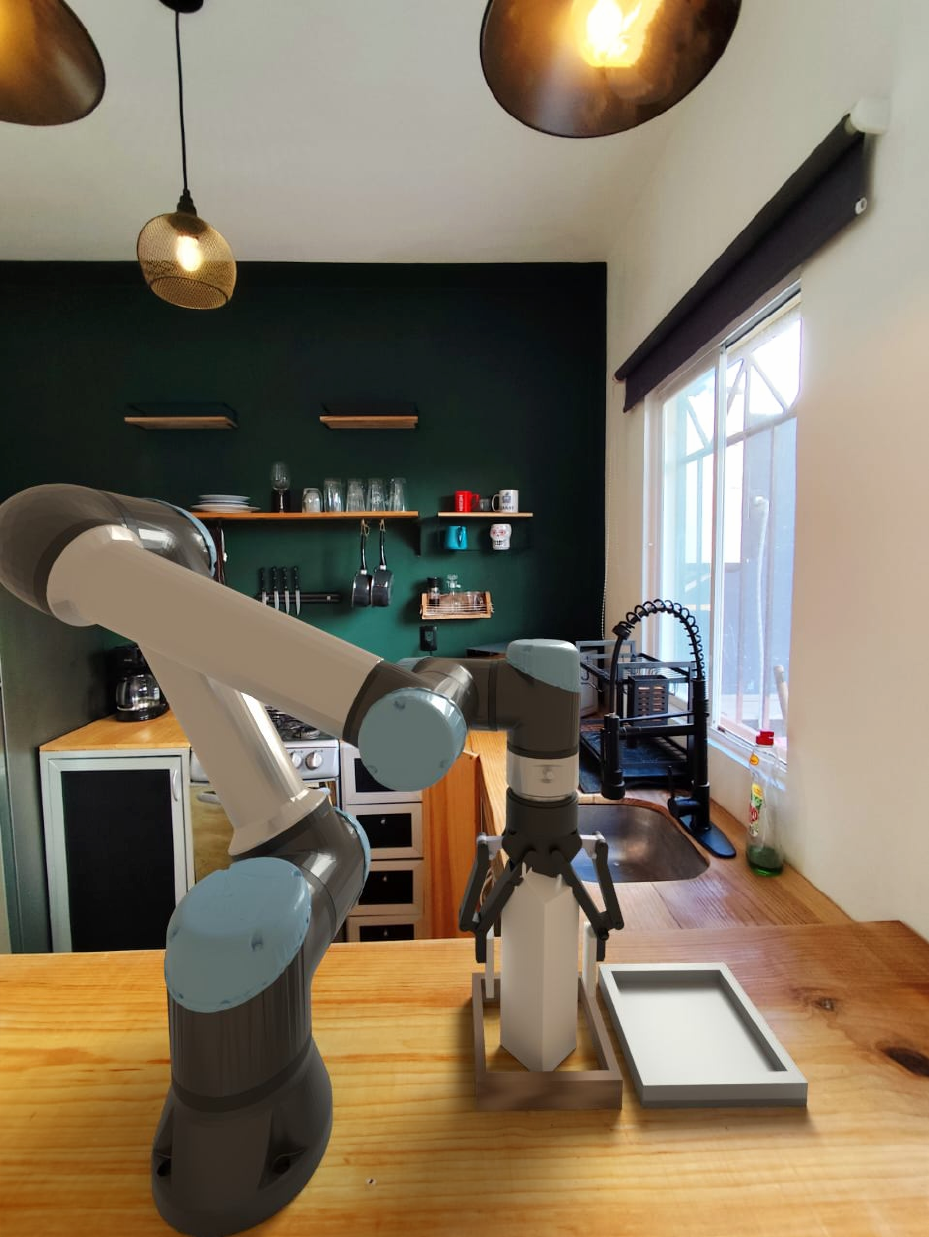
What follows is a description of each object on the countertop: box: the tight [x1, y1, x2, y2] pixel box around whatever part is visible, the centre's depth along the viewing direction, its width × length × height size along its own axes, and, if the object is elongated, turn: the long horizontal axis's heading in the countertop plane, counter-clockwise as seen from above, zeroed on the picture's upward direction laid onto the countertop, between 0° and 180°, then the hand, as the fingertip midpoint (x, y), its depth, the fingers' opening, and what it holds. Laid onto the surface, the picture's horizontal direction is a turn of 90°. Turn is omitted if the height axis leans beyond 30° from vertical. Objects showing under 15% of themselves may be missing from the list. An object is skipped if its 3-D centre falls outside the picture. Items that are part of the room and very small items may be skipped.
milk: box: [499, 862, 580, 1072], centre depth 57 cm, size 6×6×22 cm
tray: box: [597, 962, 809, 1109], centre depth 59 cm, size 16×16×2 cm
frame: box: [471, 971, 624, 1112], centre depth 58 cm, size 14×14×3 cm
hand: (539, 987), depth 57 cm, fingers open, 10 cm apart
